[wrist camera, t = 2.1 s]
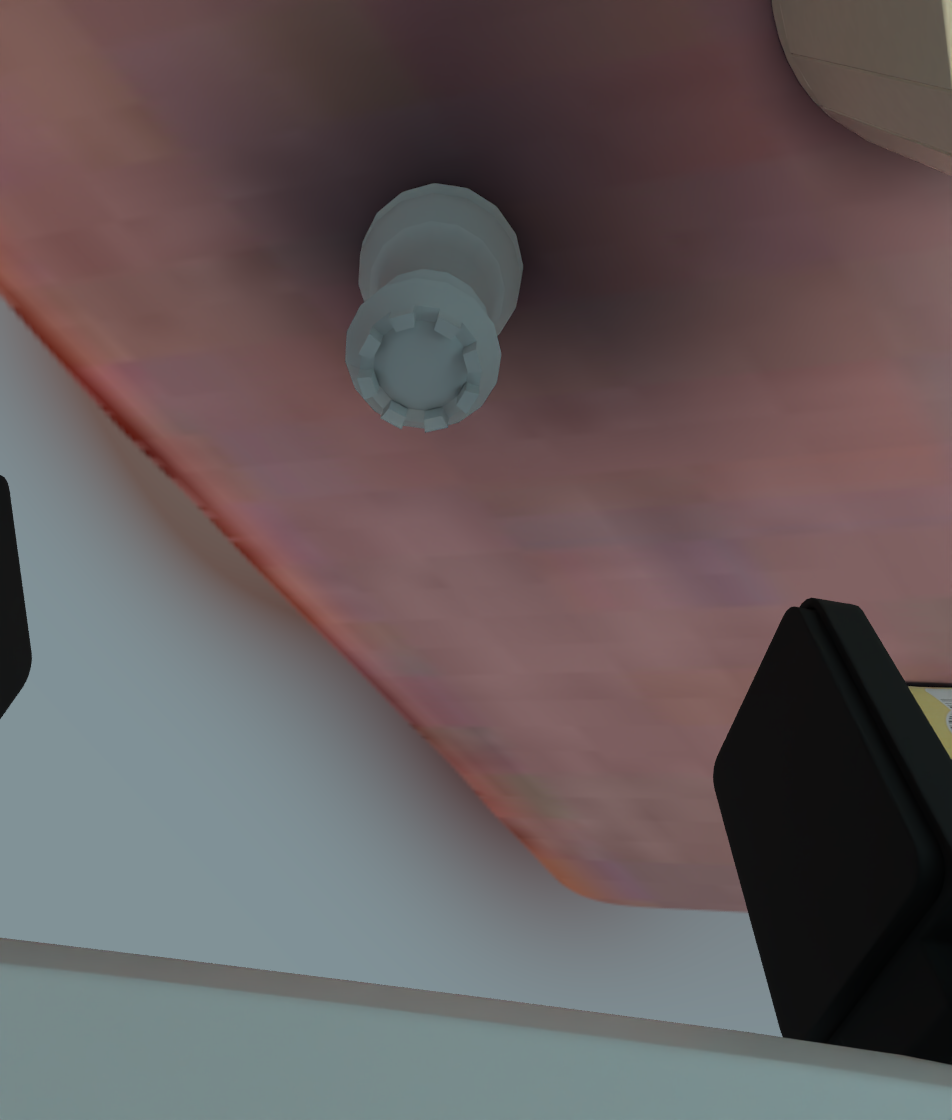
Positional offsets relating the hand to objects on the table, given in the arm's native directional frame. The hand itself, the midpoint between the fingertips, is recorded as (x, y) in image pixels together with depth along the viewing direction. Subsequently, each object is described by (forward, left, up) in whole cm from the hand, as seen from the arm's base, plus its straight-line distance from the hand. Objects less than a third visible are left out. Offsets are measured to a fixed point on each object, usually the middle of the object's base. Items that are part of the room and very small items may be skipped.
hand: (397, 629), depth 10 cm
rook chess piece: (0, 0, -16) cm, 16 cm away
